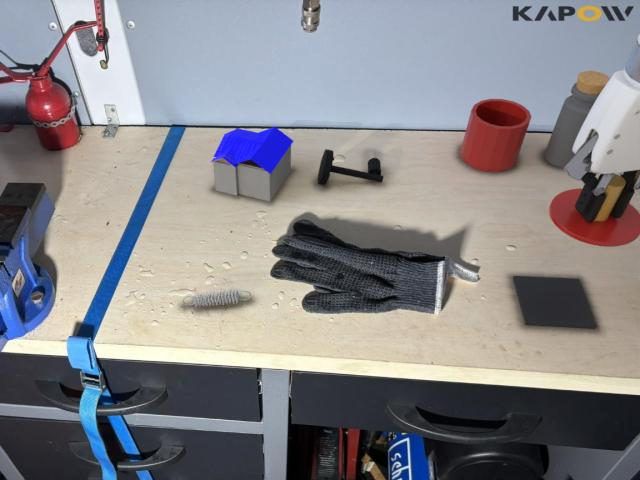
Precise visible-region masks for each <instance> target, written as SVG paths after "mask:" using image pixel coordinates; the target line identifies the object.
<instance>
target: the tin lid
mask: <svg viewBox="0 0 640 480" xmlns="http://www.w3.org/2000/svg"><path fill="white" fill-rule="evenodd" d="M625 184H626V181H625V179H624V178H623V177H621V176H620V174H616V173H614V175H613V177H612V179H611V180H610V182H609V184H608V186H607V187H606V189H605V191H604V193H605V195H606V199H605V201H604V203H603V205H602V207H601V208H600V210H599V212H598V214H597V216H596V218H595V220H594V221H593V222H586V220H585V219H584V218H583V217H582V216H581V214H580V213H579V212H578V211H577V210H576V208H575V204H576V202H577V200H578V198H579V195H580V193H581V191H582V189H583V188H572V189H567V190H563V191H561V192H560V193H558V194H556V195H555V196H554V197H553V198H552V200H551V202H550V204H549V207H548V214H549V218H550V220H551V221H552V223H553V224H554V225H555V227H556V228H557V229H559V230H560V231H561V232H562V233H563V234H565V235H567V236H568V237H570V238H572V239H574V240H576V241H578V242H581V243H584V244H587V245H591V246H592V245H593V246H598V247H606V248H607V247H609V248H610V247H611V248H612V247H613V248H614V247H622V246H625V245H626V246H627V245H629V244H631V243H633V242H634V241H636V240H637V239H638V238H639V237H640V212H639V211H638V210H637V209H636V207H635V206H634V205H632V204H631V203H630V202H629V204H628V206H627V208H626V209H625V211H624V213H623V215H622V217H621V218H617V219H615V218H613V217H612V216H611V215H610V213H611V211H612V209H613V207H614V205H615V203H616V201H617V199H618V198H619V196H620V194H621V192H622V190H623V188H624V186H625Z"/></svg>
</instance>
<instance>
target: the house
mask: <svg viewBox="0 0 640 480" xmlns="http://www.w3.org/2000/svg"><path fill="white" fill-rule="evenodd" d="M293 143H294V140H293V139H292V138H290V137H289V136H288V135H287V134H285V133H284V132H282V130H280V129H279V128H278V127H276V126H274V127H273V126H272V127H270V128H267V129H264V130H262V131H259V132H257V131H252V130H248V129H242V128H239V127H238V128H235V129H233V130H231V131H228V132H226V133H224V135H223V136H222V138H221V140H220V143H219V145H218V146H217V148H216V151H215V152H214V155H213V158H212V160H210V163H212V166H213V176H214V177H213V178H214V187H215V188H214V189H215V191H217V192H221V193H224V194H228V195H232V196H236V197H237V196H238V195H241V196H242V195H243V196H246V197H250V198H254V199H257V200H262V201H265V202H271V201H272V199H273V198H274V197H275V195H276V193H277V192H278V190H279V189H280V188H281V186H282V184H283V183H284V181H285V180H286V178H287V177H288V176H289V174H290V172H292V171H291V170H292V165H291V164H292V144H293Z"/></svg>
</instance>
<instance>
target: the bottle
mask: <svg viewBox="0 0 640 480" xmlns="http://www.w3.org/2000/svg"><path fill="white" fill-rule="evenodd" d="M610 78H611V77H610V76H609V75H607V74H606V73H603V72H601V71H596V70H584V71H582V72H580V73H578V75H577V81H576V82H575V83H574V84H573V85H572V87H571V89H570V93H571V95H569V96H567V97H566V98H565V99H564V100H563V104H562V106H561V108H560V112H559V114H558V117H557V119H556V122H555V124H554V127H553V130H552V132H551V135H550V138H549V140H548V143H547V145H546V148H545V151H544V154H543V157H544V159H545V161H546V162H547V163H549V164H550V165H552V166H554V167H558V168H563V169H564V167H565V166H566V165H567V164H568V163H569V162H570V160H571V159H572V158H573V157H574V156H575V155H576V154H575V153H574V152H573V151H572V149H573V145H574V143H575V140H576V138H577V136H578V133H579V131H580V129H581V127H582V125H583V123H584V121H585V119H586V117H587V115H588V113H589V112H590V110H591V108H592V106H593V104H594V103H595V101H596V99H597V98H598V96H599V94H600V93H601V91H602V90H603V88H604V87H605V85H606V84H607V82H608V81H609V80H610Z"/></svg>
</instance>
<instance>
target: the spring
mask: <svg viewBox="0 0 640 480" xmlns="http://www.w3.org/2000/svg"><path fill="white" fill-rule="evenodd" d="M242 293H247V294H249V297H247V298H244V299H242V298H240V296H239V295H241V294H242ZM251 297H252V293H251V292H250V291H248V290H240V289H233V291H232V289H230V290H223V292H222V290H220V291H213V292H212V291H210V292H208V291H207V292H206V293H205V292H203V293H202V292H197V293H196V296H194V295H185V296H184V297H183V298H182V300H181V301H182V304H183V305H185V306H189V307H192V306H194V305H195V308H198V307H199V308H201V307H208V306H210V307H211V306H215V305H216V306H218V305H219V306H221V305H225V304H226V305H228V304H229V305H232V304H233V305H235V303H236V304H238V303H239V301H241V302H246V301H249V300H250V299H251ZM187 298H192V299H193V300H194V302H193V303H190V304H188V303H186V302H185V299H187Z"/></svg>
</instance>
